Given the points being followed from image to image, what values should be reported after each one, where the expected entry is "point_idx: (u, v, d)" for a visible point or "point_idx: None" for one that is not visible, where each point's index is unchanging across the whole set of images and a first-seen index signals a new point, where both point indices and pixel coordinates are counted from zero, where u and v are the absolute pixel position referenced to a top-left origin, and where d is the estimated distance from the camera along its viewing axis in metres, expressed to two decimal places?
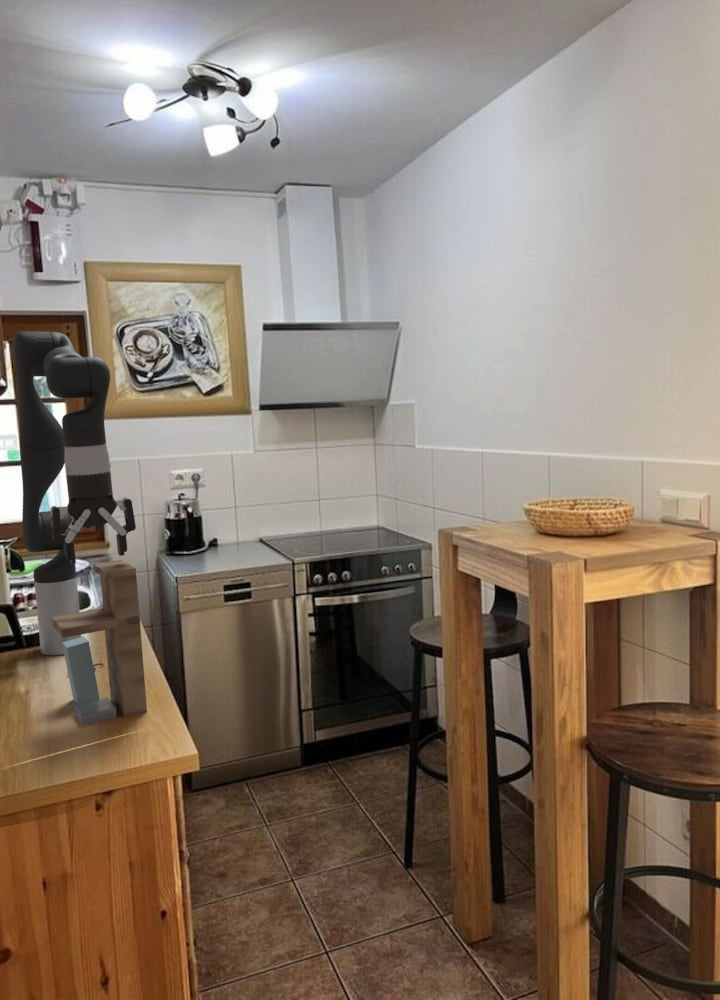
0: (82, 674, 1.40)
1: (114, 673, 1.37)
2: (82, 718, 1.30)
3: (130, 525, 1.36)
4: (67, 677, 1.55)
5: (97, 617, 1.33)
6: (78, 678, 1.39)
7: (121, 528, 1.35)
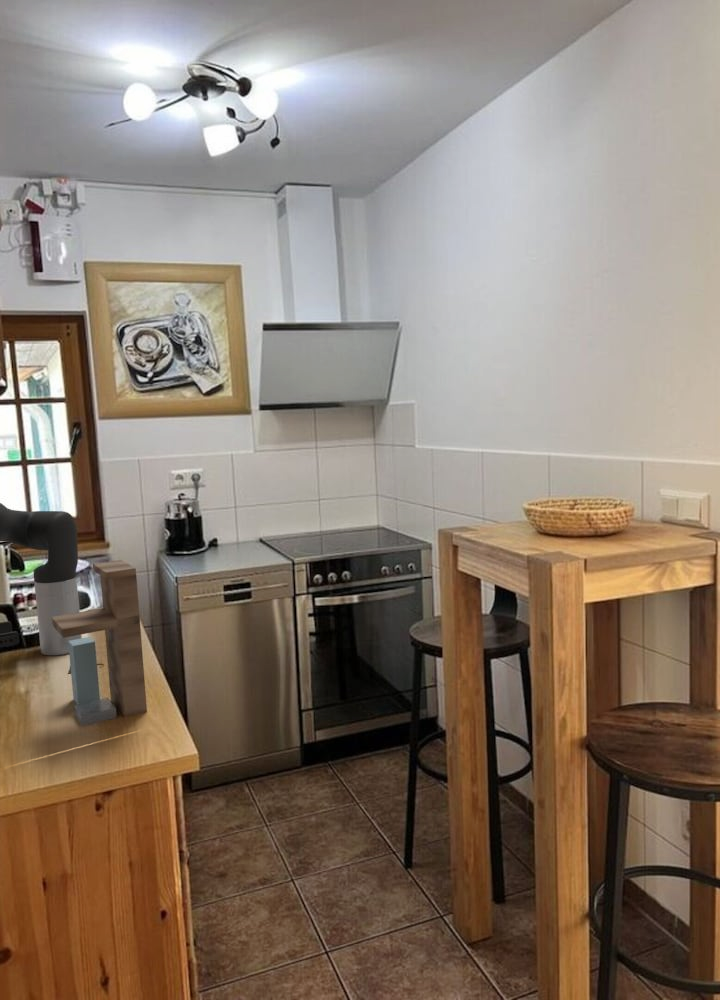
0: (86, 673, 1.40)
1: (114, 673, 1.37)
2: (82, 718, 1.30)
3: None
4: None
5: (97, 617, 1.33)
6: (81, 677, 1.40)
7: None
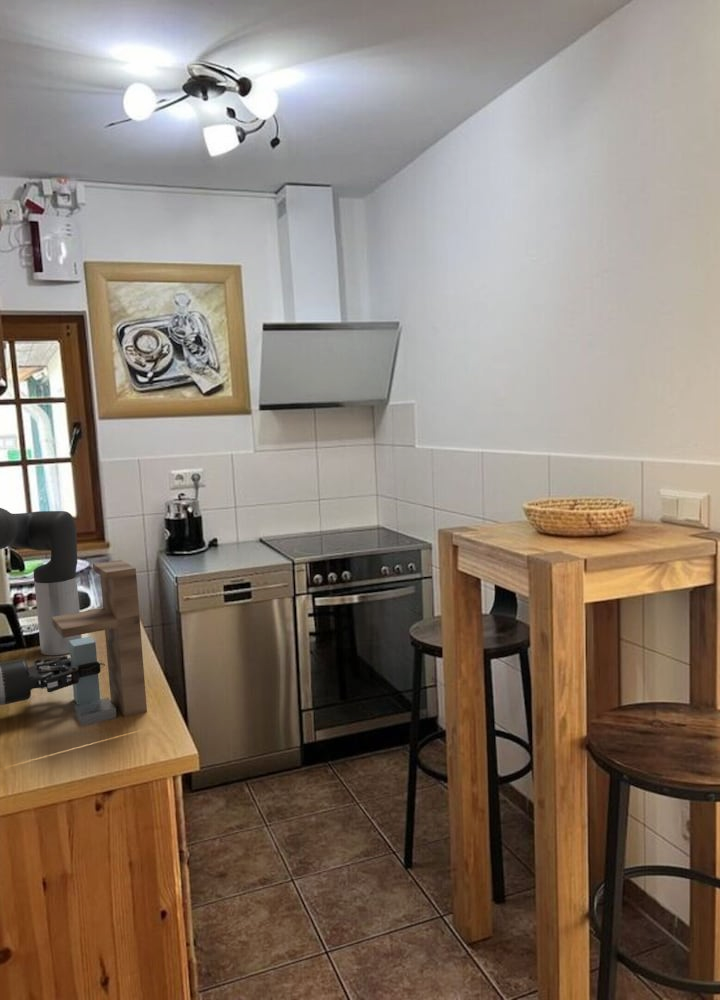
0: None
1: (114, 673, 1.37)
2: (82, 718, 1.30)
3: None
4: None
5: (97, 617, 1.33)
6: (81, 677, 1.40)
7: None
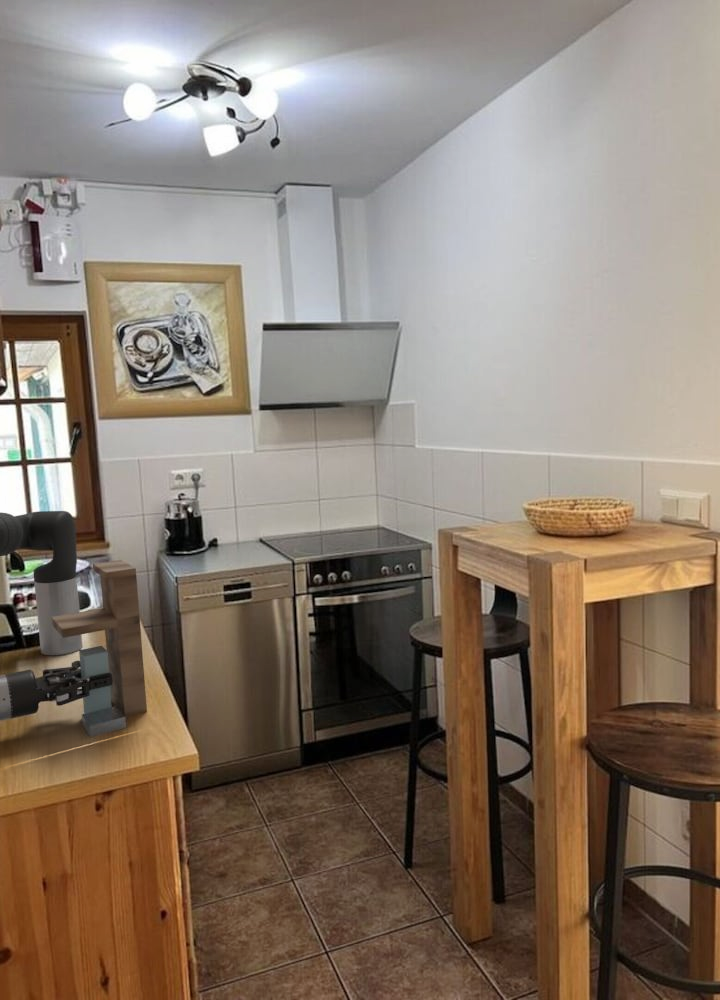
0: None
1: (114, 673, 1.37)
2: (90, 728, 1.26)
3: None
4: None
5: (97, 617, 1.33)
6: None
7: None
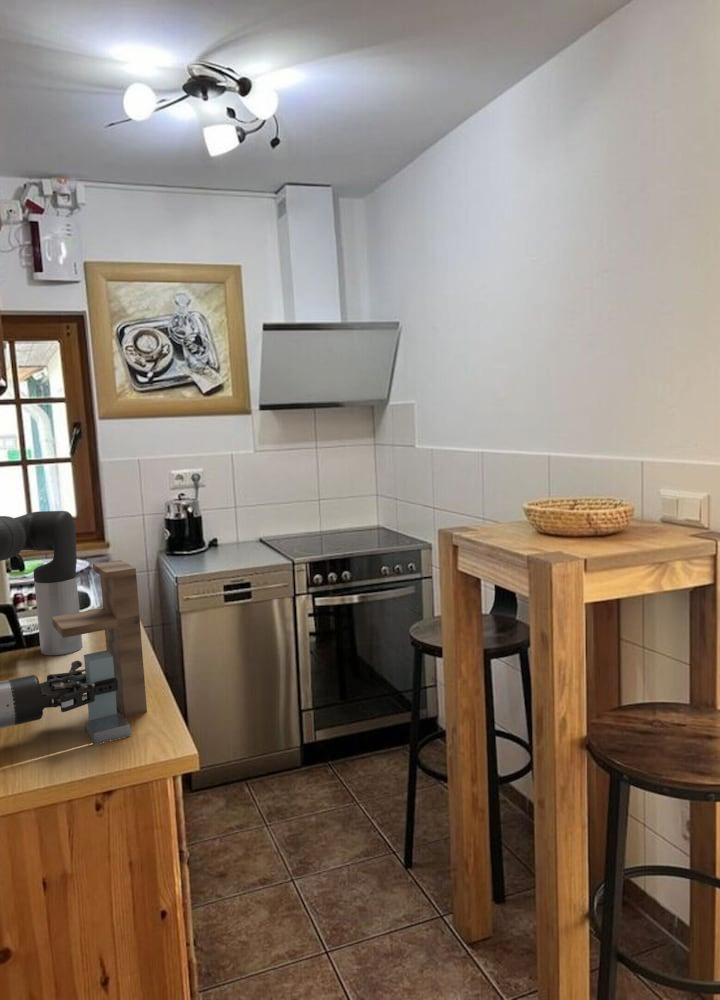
0: None
1: (114, 673, 1.37)
2: (95, 735, 1.23)
3: None
4: None
5: (97, 617, 1.33)
6: (97, 695, 1.29)
7: None
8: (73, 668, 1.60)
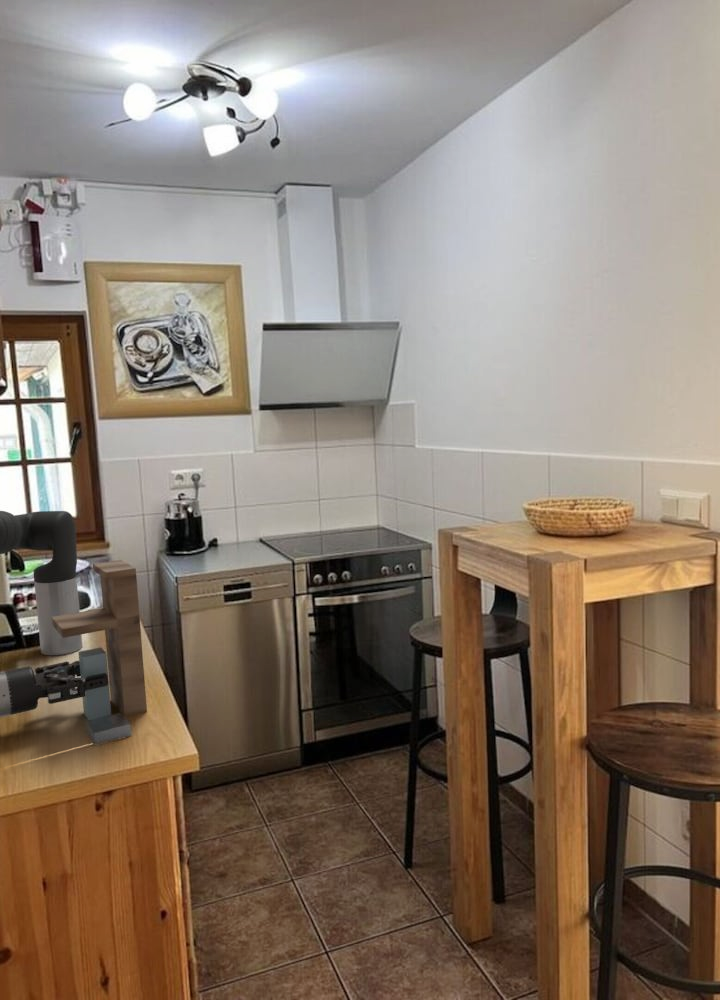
0: None
1: (114, 673, 1.37)
2: (95, 735, 1.23)
3: None
4: None
5: (97, 617, 1.33)
6: (91, 690, 1.33)
7: None
8: None
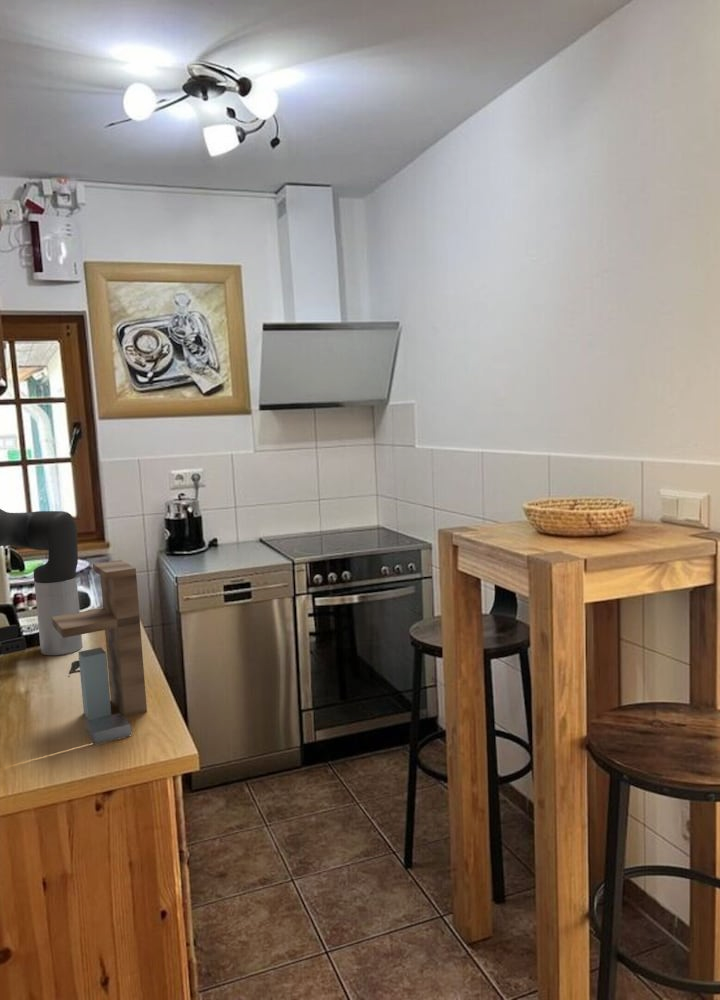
0: (96, 686, 1.33)
1: (114, 673, 1.37)
2: (95, 735, 1.23)
3: None
4: (68, 676, 1.56)
5: (97, 617, 1.33)
6: (91, 690, 1.33)
7: None
8: (73, 668, 1.60)
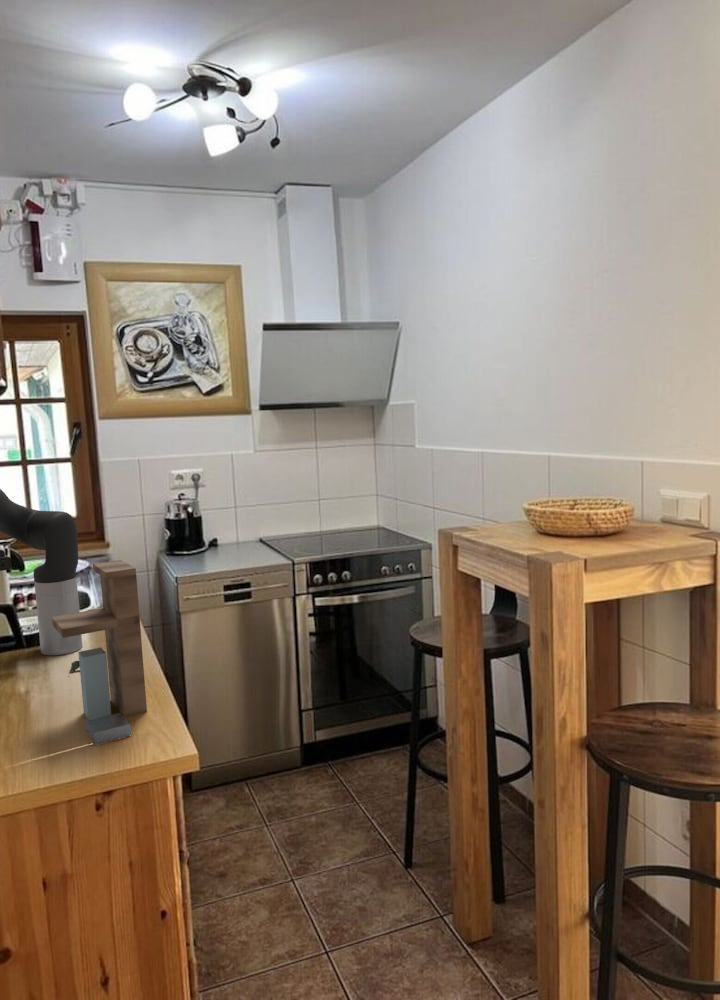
0: (96, 686, 1.33)
1: (114, 673, 1.37)
2: (95, 735, 1.23)
3: None
4: (68, 676, 1.56)
5: (97, 617, 1.33)
6: (91, 690, 1.33)
7: None
8: (73, 668, 1.60)
